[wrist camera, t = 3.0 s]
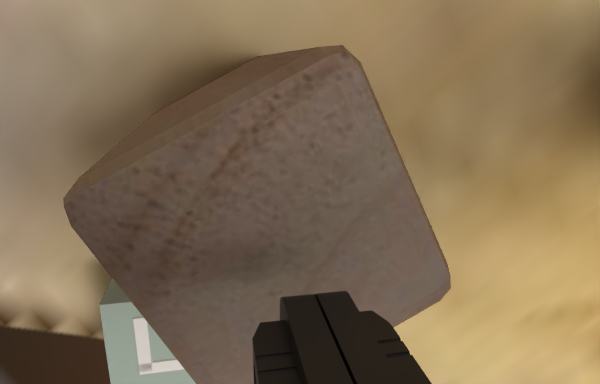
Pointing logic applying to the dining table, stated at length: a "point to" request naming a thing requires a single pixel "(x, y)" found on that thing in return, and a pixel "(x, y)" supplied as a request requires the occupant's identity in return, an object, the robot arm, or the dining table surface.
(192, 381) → the sage numbered cube
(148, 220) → the wooden block
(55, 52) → the dining table surface
